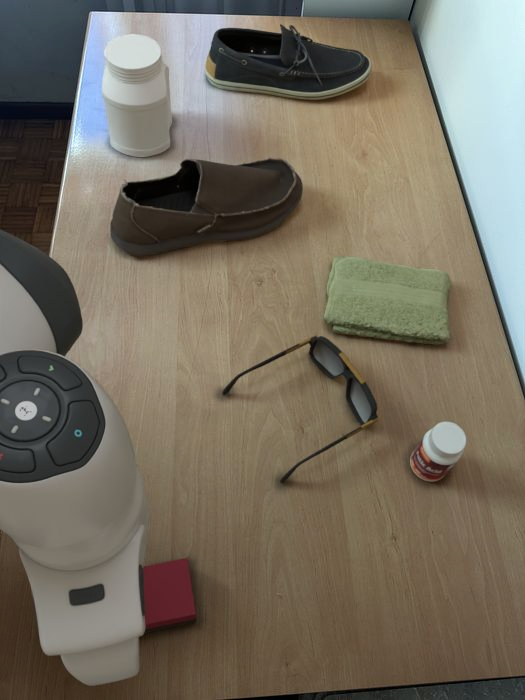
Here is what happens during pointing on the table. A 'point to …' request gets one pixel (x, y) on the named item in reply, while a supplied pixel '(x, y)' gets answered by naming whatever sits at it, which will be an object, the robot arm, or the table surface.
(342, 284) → the washcloth
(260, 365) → the sunglasses
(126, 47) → the jar
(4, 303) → the robot arm
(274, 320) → the table surface
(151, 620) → the red and black block
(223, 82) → the boat shoe
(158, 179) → the loafer
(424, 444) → the pill bottle
